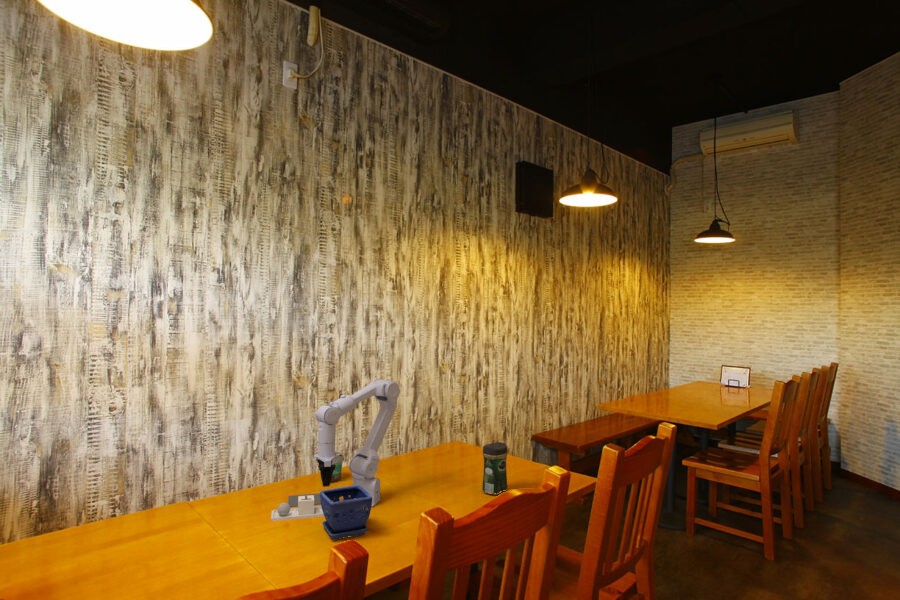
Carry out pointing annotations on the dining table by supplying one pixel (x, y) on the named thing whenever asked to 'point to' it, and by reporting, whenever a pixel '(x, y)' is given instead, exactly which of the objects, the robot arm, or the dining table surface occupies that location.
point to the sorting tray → (296, 514)
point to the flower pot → (345, 511)
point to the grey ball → (283, 509)
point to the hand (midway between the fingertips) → (325, 482)
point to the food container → (337, 467)
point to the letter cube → (305, 505)
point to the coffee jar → (495, 468)
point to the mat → (294, 498)
